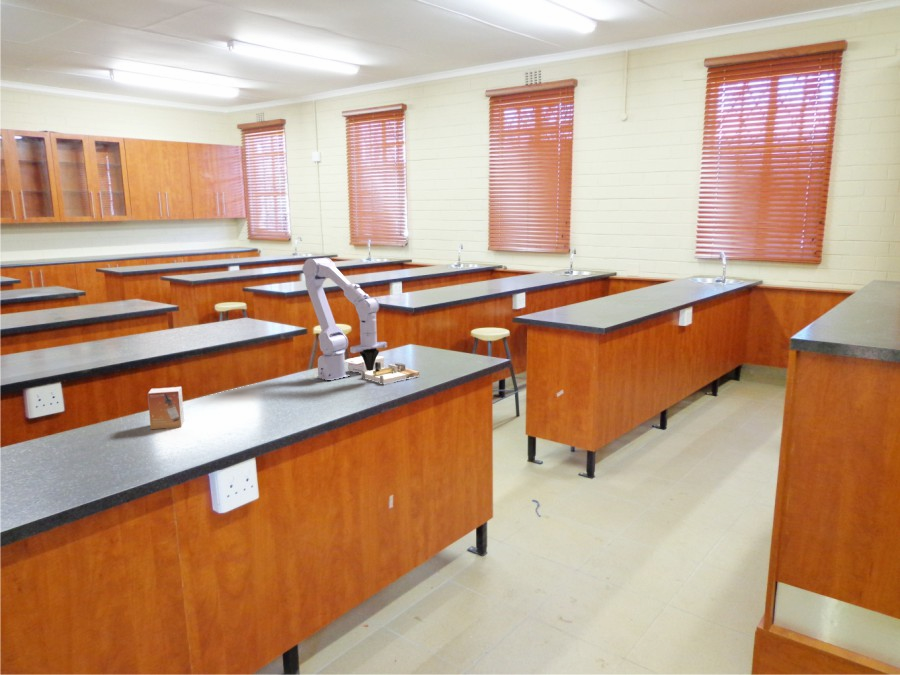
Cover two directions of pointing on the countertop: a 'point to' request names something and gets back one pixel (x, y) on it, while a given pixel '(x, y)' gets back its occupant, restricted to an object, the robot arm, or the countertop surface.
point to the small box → (166, 407)
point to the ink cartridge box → (361, 364)
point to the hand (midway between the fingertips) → (369, 369)
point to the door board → (384, 375)
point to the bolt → (381, 371)
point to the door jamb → (406, 370)
